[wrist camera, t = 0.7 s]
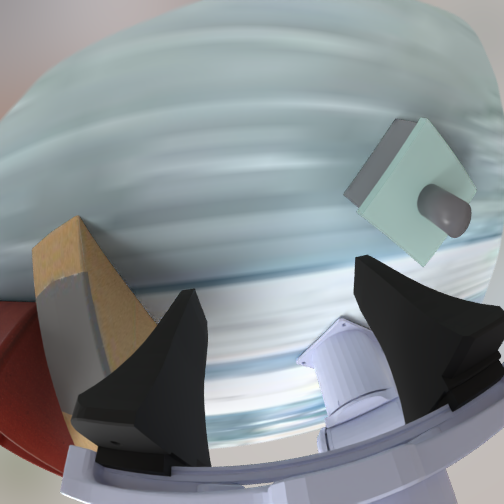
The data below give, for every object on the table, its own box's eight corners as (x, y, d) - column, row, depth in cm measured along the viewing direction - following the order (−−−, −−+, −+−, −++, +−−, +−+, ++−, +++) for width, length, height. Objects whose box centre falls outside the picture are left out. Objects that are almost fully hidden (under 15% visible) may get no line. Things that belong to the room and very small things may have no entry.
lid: (467, 185, 17) (505, 206, 13) (415, 259, 21) (445, 292, 16) (416, 116, 15) (462, 126, 10) (353, 209, 18) (386, 240, 14)
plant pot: (29, 371, 31) (0, 447, 16) (-29, 281, 21) (-85, 361, 7) (114, 385, 31) (93, 488, 17) (50, 275, 22) (-29, 406, 7)
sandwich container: (79, 210, 19) (-33, 334, 6) (167, 334, 27) (147, 469, 14) (30, 247, 20) (-54, 351, 7) (111, 349, 28) (81, 460, 15)
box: (444, 175, 20) (468, 187, 17) (399, 239, 23) (419, 258, 20) (395, 118, 17) (421, 123, 14) (343, 194, 20) (361, 210, 17)
